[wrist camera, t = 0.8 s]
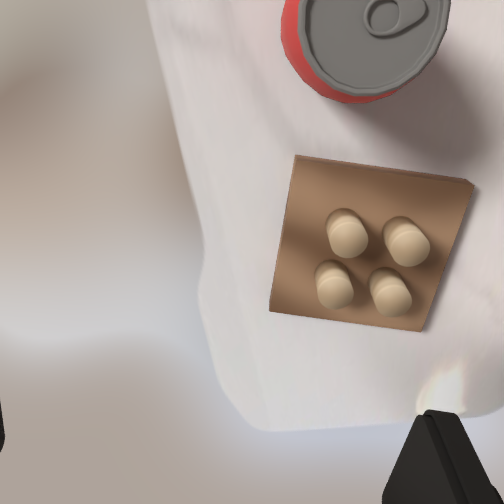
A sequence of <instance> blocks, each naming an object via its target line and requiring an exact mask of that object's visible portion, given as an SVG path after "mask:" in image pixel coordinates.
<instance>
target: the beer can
mask: <svg viewBox="0 0 504 504" xmlns="http://www.w3.org/2000/svg"><path fill="white" fill-rule="evenodd" d="M450 6H451V0H286V2H285V5H284V9H283V13H282V17H281V40H282V44H283V48H284V51H285V55H286V57H287V58H288V60H289V61H290V63H291V65H292V66H293V68H294V69H295V71H296V72H297V73H298V75H299V76H300V77H301V78H302V80H303V81H304V82H305V83H307V84H308V85H309V86H310V87H312V88H313V89H314V90H315V91H317V92H318V93H319V94H320V95H322V96H325V97H327V98H330V99H333V100H336V101H339V102H342V103H368V102H371V101H374V100H377V99H380V98H383V97H386V96H389V95H391V94H393V93H394V92H396V91H397V90H399V89H400V88H401V87H403V86H404V85H406V84H407V83H409V82H410V81H411V80H413V79H414V78H415V77H416V76H418V75H419V74H420V73H421V71H422V70H423V69H424V68H425V67H426V65H427V64H428V63H429V62H430V61H431V59H432V58H433V57H434V56H435V54H436V52H437V50H438V48H439V46H440V43H441V41H442V39H443V37H444V35H445V32H446V30H447V25H448V18H449V12H450Z"/></svg>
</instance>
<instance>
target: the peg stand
mask: <svg viewBox="0 0 504 504" xmlns="http://www.w3.org/2000/svg"><path fill="white" fill-rule="evenodd" d="M474 186H475V185H473V184H472V183H470V182H469V181H468V180H466V179H461V178H454V177H447V176H440V175H433V174H426V173H419V172H412V171H405V170H398V169H391V168H384V167H377V166H370V165H364V164H357V163H350V162H343V161H336V160H329V159H322V158H315V157H308V156H301V155H295V159H294V165H293V170H292V176H291V182H290V187H289V193H288V199H287V204H286V210H285V216H284V221H283V227H282V233H281V238H280V244H279V250H278V256H277V261H276V267H275V273H274V278H273V284H272V290H271V295H270V301H269V311H270V312H277V313H284V314H291V315H299V316H306V317H313V318H320V319H328V320H335V321H342V322H349V323H357V324H364V325H371V326H378V327H386V328H393V329H400V330H407V331H415V332H421V331H422V328H423V326H424V323H425V320H426V317H427V315H428V312H429V309H430V306H431V304H432V301H433V298H434V295H435V293H436V290H437V287H438V284H439V282H440V279H441V276H442V273H443V271H444V268H445V265H446V263H447V260H448V257H449V254H450V252H451V249H452V246H453V243H454V241H455V238H456V235H457V232H458V230H459V227H460V224H461V221H462V219H463V216H464V213H465V210H466V208H467V205H468V202H469V200H470V197H471V194H472V191H473V189H474Z"/></svg>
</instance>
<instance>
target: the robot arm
mask: <svg viewBox="0 0 504 504" xmlns="http://www.w3.org/2000/svg"><path fill="white" fill-rule="evenodd" d="M4 440H5V434H4V426H3V418H2V411H1V404H0V452H1V450H2V448H3V444H4ZM382 504H504V503H503V500H502V498H501V496H500V495H499V493H498V491H497V490H496V488H495V487H494V486H492V485H491V483H490V481H489V478H488V476H487V474H486V472H485V470H484V468H483V466H482V464H481V462H480V460H479V458H478V456H477V454H476V452H475V450H474V448H473V446H472V444H471V441H470V439H469V437H468V435H467V433H466V431H465V429H464V427H463V425H462V423H461V421H460V419H459V417H458V416H457V415H456V414H455V413H450V412H443V411H436V410H426V411H425V413H424V414H423V415H418V416H417V417H416V419H415V421H414V423H413V425H412V427H411V430H410V432H409V434H408V437H407V439H406V441H405V443H404V446H403V448H402V450H401V452H400V455H399V457H398V459H397V462H396V464H395V466H394V469H393V471H392V473H391V475H390V477H389V480H388V482H387V484H386V487H385V489H384V491H383V495H382Z"/></svg>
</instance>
